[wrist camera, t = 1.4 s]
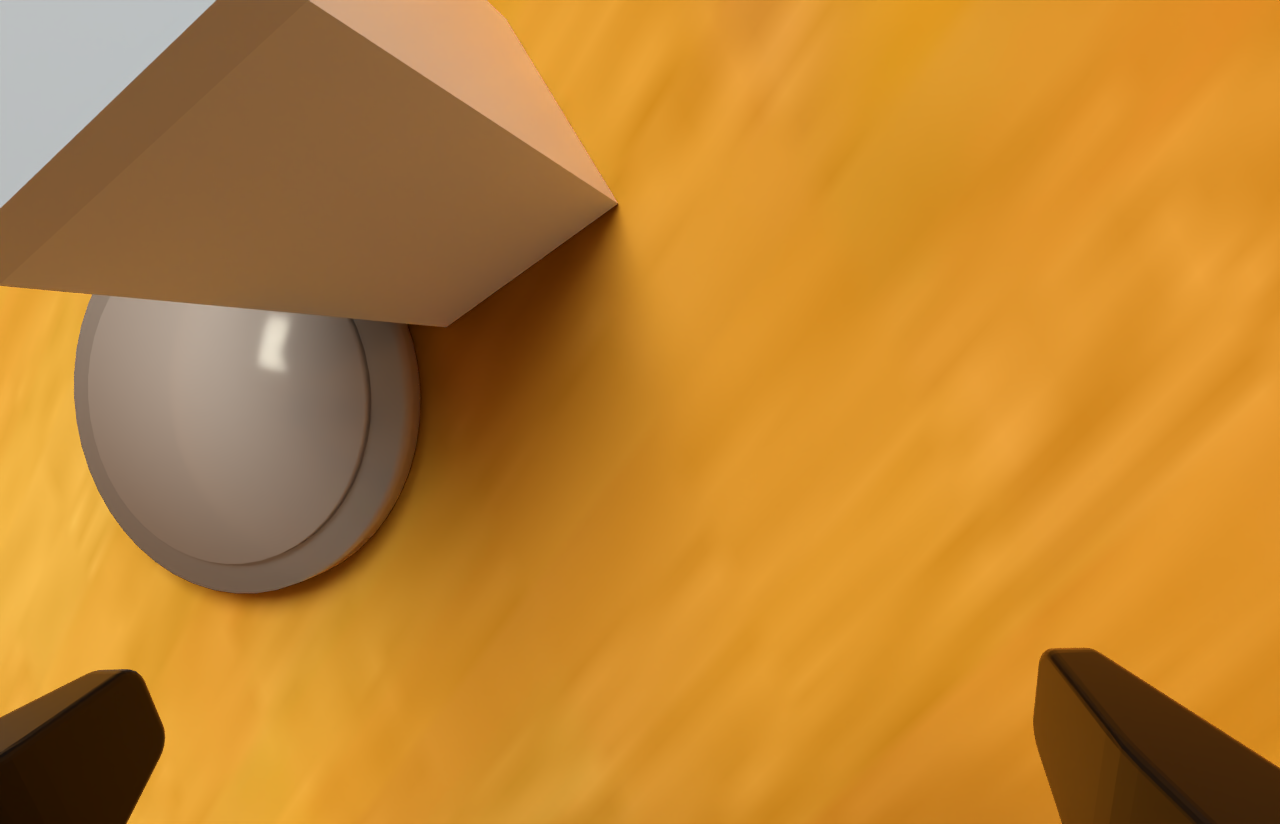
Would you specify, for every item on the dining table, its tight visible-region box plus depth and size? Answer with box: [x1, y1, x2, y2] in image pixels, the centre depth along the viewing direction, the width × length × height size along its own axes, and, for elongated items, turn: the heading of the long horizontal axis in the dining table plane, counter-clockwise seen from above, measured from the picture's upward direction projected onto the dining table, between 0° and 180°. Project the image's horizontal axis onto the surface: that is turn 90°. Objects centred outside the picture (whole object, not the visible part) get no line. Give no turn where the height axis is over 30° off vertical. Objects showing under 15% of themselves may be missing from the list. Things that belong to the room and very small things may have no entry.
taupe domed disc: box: [74, 294, 421, 593], centre depth 22 cm, size 11×11×1 cm
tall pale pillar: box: [0, 0, 618, 327], centre depth 15 cm, size 6×6×12 cm
